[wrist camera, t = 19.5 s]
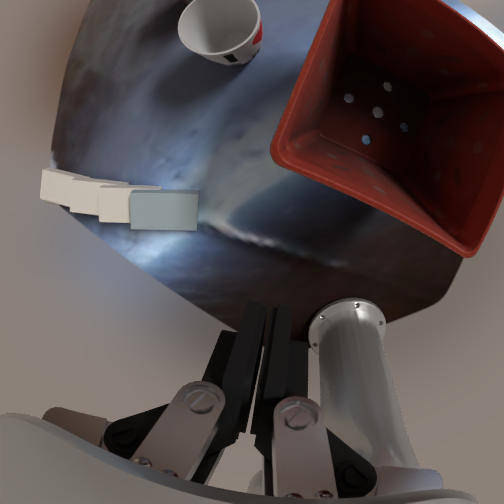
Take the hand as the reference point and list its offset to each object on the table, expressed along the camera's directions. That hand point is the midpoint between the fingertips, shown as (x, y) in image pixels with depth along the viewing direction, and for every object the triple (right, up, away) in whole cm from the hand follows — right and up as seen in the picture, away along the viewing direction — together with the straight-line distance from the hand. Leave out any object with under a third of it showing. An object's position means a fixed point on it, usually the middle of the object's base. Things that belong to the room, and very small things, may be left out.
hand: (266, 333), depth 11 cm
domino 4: (-8, +9, +26) cm, 29 cm away
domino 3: (-13, +10, +27) cm, 32 cm away
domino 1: (-27, +12, +27) cm, 40 cm away
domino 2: (-19, +11, +27) cm, 35 cm away
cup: (-2, +29, +18) cm, 34 cm away
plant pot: (+15, +20, +19) cm, 32 cm away
